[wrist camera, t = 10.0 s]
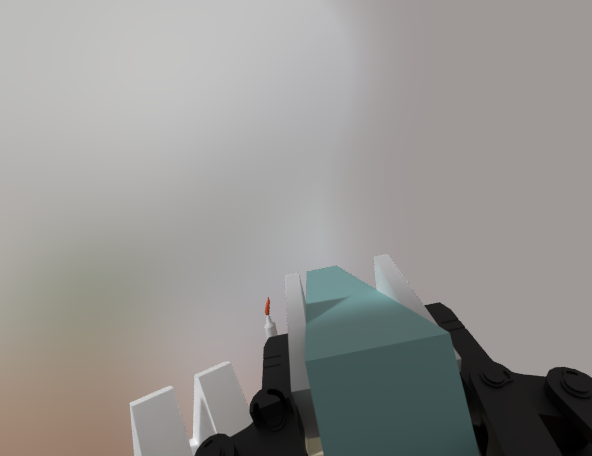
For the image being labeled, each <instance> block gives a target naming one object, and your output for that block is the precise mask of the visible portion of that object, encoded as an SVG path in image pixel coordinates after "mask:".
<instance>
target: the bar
mask: <svg viewBox="0 0 592 456" xmlns="http://www.w3.org/2000/svg"><path fill="white" fill-rule="evenodd" d="M306 283H307V284H306V329H305V365H306V370H307V375H308V380H309V385H310V390H311V395H312V400H313V405H314V410H315V415H316V420H317V424H318V429H319V434H320V439H321V444H322V449H323V454H324V456H480V455H479V451H478V447H477V443H476V439H475V435H474V431H473V426H472V422H471V418H470V414H469V410H468V406H467V402H466V398H465V393H464V389H463V385H462V381H461V377H460V373H459V369H458V365H457V360H456V356H455V352H454V348H453V344H452V340H451V336H450V333H449V332H447V331H446V330H444V329H442V328H441V327H439V326H437V325H436V324H434V323H432V322H431V321H429V320H427V319H425V318H424V317H422V316H420V315H419V314H417V313H415V312H414V311H412V310H410V309H409V308H407V307H405V306H404V305H401V304H400V303H398V302H396V301H395V300H393V299H391V298H390V297H388V296H386V295H385V294H383V293H381V292H380V291H378V290H377V289H375V288H373V287H372V286H370V285H368V284H366V283H365V282H363V281H361V280H360V279H358V278H356V277H355V276H353V275H351V274H350V273H348V272H346V271H345V270H343V269H341V268H340V267H338V266H332V267H327V268H322V269H318V270H313V271H308V272H307V282H306Z"/></svg>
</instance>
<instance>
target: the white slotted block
mask: <svg viewBox="0 0 592 456" xmlns="http://www.w3.org/2000/svg"><path fill="white" fill-rule="evenodd" d="M194 380H195V381H194V417H193V418H194V419H193V438H192V439H190V440H189V439H188V436H187V432H186V429H185V425H184V422H183V419H182V415H181V412H180V408H179V405H178V401H177V398H176V394H175V391H174V388H173V387H172V386H171V385H170V386H168V387H165V388H163V389H161V390H158V391H156V392H154V393H151V394H149V395H147V396H145V397H143V398H140V399H138V400H135V401H133V402H131V403H130V412H131V424H132V435H133V446H134V456H194V455H195V453H196V450H197V449H198V448H199V446H200V445H201V444H202V442H203V441H204V440H206V439H207V438H208V437H210V436H212V435H214V434H217V433H221V434H226V435H228V436H229V437H231V436H233V435H234V434H236V433H238V432H240V431H241V430H243V429H245V428H246V427H248V426H249V425H250V424H251V423H252V422H253V420H252V418H251V416H250V413H249V410H250V409H249V407H248V404H247V402H246V399H245V397H244V394H243V392H242V389H241V387H240V385H239V382H238V380H237V377H236V375H235V372H234V370H233V367H232V365H231V363H230V362H227V361H225V362H223V363H221V364H218V365H216V366H214V367H211V368H209V369H207V370H204V371H202V372H200V373H197V374H195V378H194Z"/></svg>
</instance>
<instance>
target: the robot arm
mask: <svg viewBox="0 0 592 456" xmlns="http://www.w3.org/2000/svg"><path fill="white" fill-rule="evenodd" d="M374 267H375V276H376V277H375V278H376V287H377V290H378V291H380V292H381V293H383V294H385V295H386V296H388V297H390V298H391V299H393V300H395V301H396V302H398V303H400V304H401V305H404V306H405V307H407V308H409V309H410V310H412V311H414V312H415V313H417V314H419V315H420V316H422V317H424V318H425V319H427V320H429V321H431V322H432V323H434V324H436V325H437V326H439V327H441V328H442V329H444V330H446V331H447V332H449V333H450V336H451V340H452V344H453V348H454V352H455V356H456V360H457V365H458V369H459V373H460V377H461V381H462V385H463V389H464V393H465V398H466V402H467V406H468V410H469V414H470V418H471V422H472V426H473V431H474V435H475V439H476V443H477V447H478V451H479V455H480V456H592V378H591V377H590V376H588V375H587V374H585V373H582V372H580V371H578V370H576V369H571V368H566V367H555V368H553V369H551V370H549V372H548V374H547V376H546V377H544V376H533V375H523V374H519V373H514V372H511V371H510V370H509V369H507V368H506V367H505V366H503V365H501V364H499V363H496V362H494V361H492V359H491V358H490V357H489V356H488V355H487V353H486V352H485V351H484V350H483V349H482V347H481V346H480V345H479V344H478V342H477V341H476V340H475V339H474V338H473V336H472V335H471V334H470V333H469V331H468V330H467V329H465V326H464V325H463V324H462V323H461V321H459V320H458V318H457V317H456V315H455V314H454V313H453V312H452V311H451V309H449V308H447V307H446V306H444V305H443V304H441V303H440V302H439V303H434V304H429V305H423V303H422V302H421V300H420V299H419V298H418V296H417V295H416V293H415V292H414V290H413V289H412V288H411V286H410V285H409V283H408V282H407V281H406V279H405V278H404V276H403V275H402V273H401V272H400V270H399V269H398V268H397V266H396V265H395V263H394V262H393V260H392V259H391V258H390V256H389V255H388V254H384V255H379V256H374ZM285 287H286V288H285V289H286V306H287V323H288V324H287V325H288V333H287V334H283V335H277V336H272V337H269V338H268V340H267V342H266V344H265V346H264V354H263V355H264V356H263V359H264V360H263V377H262V389H261V390H259V391H258V392H257V394H256V395H255V396H254V397H253V399H252V401H251V403H250V410H249V413H250V416H251V418H252V420H253V422H252V423H251V424H250V425H249V426H248V427H246V428H245V429H243V430H241V431H240V432H238V433H236V434H234V435H233V436H231V437H229V436H228V435H226V434H221V433H217V434H214V435H212V436H210V437H208V438H207V439H206V440H204V441H203V442H202V444H201V445H200V446H199V448H198V449H197V450H196V453H195V455H194V456H308V453H307V450H306V442H305V437H306V440H307V439H312V438H317V437H320V434H319V429H318V424H317V420H316V415H315V410H314V405H313V400H312V395H311V390H310V385H309V380H308V375H307V370H306V365H305V329H306V301H305V297H304V292H303V288H302V284H301V280H300V276H299V272H296V273H291V274H287V275H285Z"/></svg>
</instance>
